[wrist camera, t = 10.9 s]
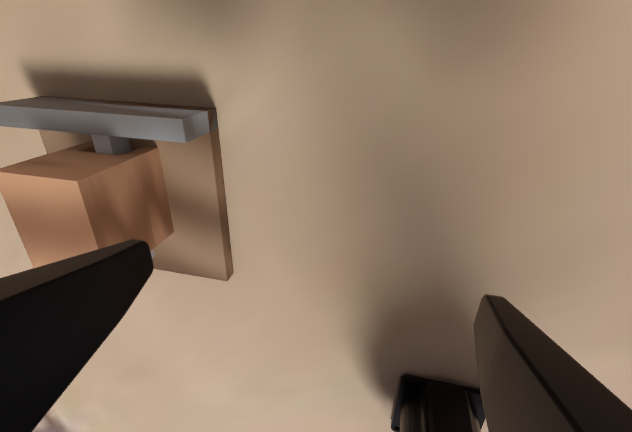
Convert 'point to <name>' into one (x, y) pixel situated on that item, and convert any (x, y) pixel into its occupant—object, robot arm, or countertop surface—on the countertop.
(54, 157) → the tan cube
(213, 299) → the countertop surface
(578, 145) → the countertop surface
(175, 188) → the board
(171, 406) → the countertop surface
